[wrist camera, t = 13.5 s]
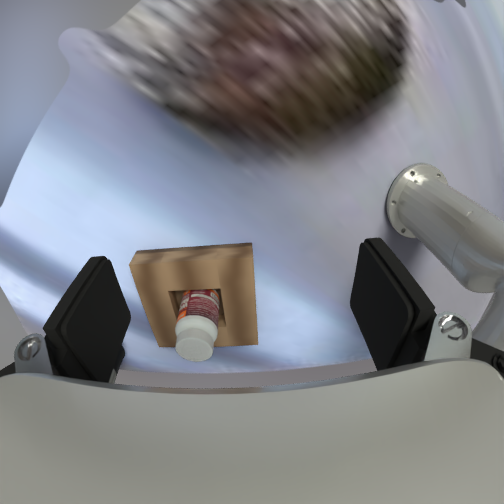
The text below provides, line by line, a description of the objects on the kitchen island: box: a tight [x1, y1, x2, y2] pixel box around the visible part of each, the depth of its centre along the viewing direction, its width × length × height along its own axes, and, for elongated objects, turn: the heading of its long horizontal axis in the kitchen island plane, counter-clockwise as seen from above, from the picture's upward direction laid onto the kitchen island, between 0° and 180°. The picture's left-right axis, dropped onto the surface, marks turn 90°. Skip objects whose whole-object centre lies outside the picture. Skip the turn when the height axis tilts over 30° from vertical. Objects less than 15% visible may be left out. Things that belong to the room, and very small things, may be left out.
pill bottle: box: [175, 289, 220, 362], centre depth 40 cm, size 6×6×11 cm
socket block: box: [129, 243, 258, 347], centre depth 44 cm, size 18×18×4 cm
